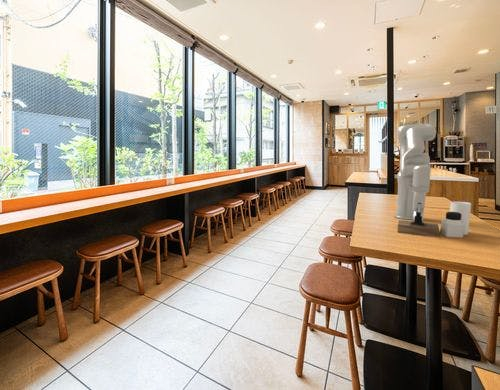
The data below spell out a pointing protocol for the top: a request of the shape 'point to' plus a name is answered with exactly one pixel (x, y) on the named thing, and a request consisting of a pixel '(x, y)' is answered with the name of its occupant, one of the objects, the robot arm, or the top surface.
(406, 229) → the block
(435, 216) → the top surface
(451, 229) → the medicine bottle
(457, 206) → the cup
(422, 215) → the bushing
